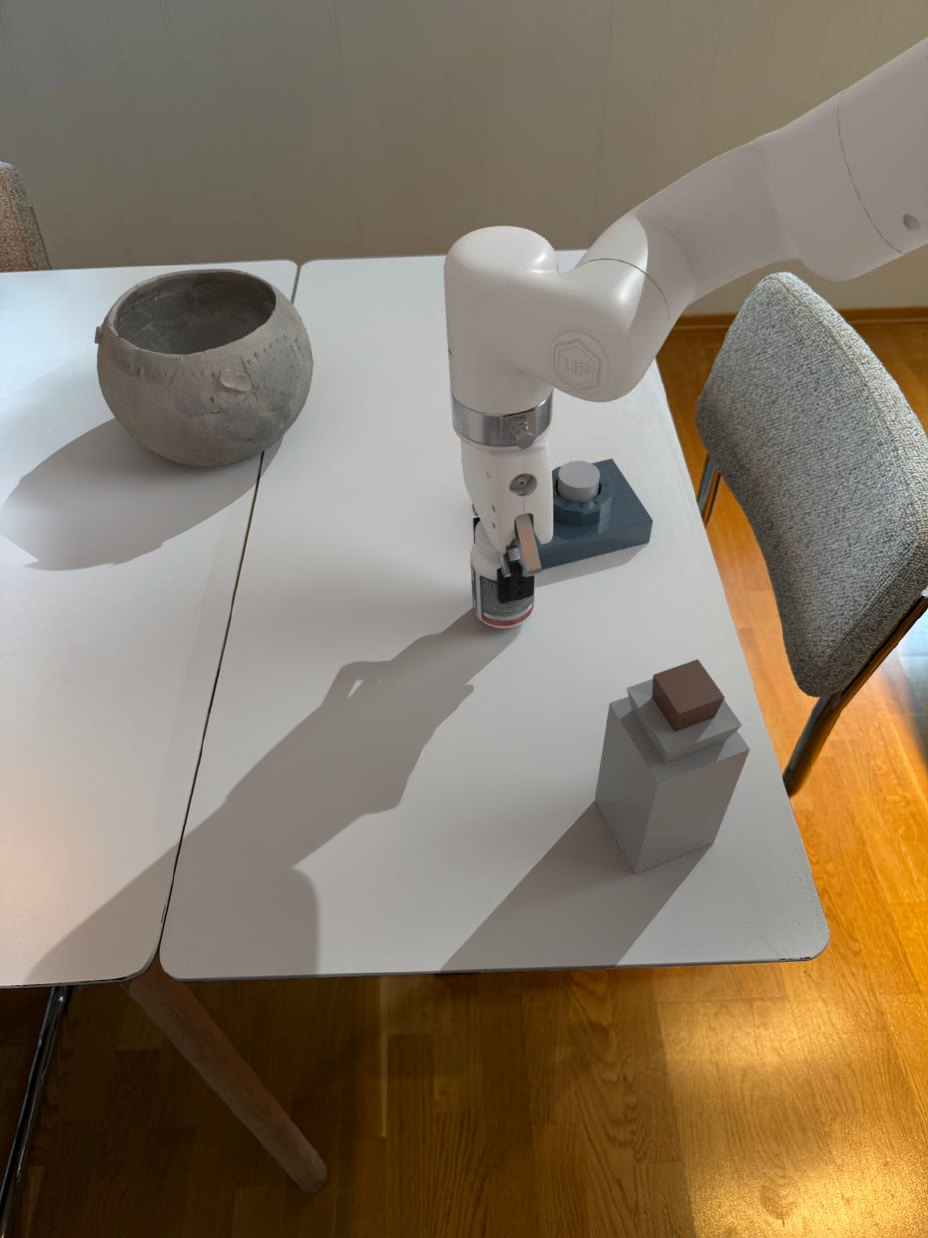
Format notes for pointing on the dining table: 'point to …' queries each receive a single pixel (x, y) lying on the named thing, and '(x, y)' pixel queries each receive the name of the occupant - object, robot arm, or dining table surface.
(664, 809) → the perfume bottle
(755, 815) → the dining table surface
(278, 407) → the bowl
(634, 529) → the button housing
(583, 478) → the grey button cap
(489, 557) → the pill bottle
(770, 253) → the robot arm
